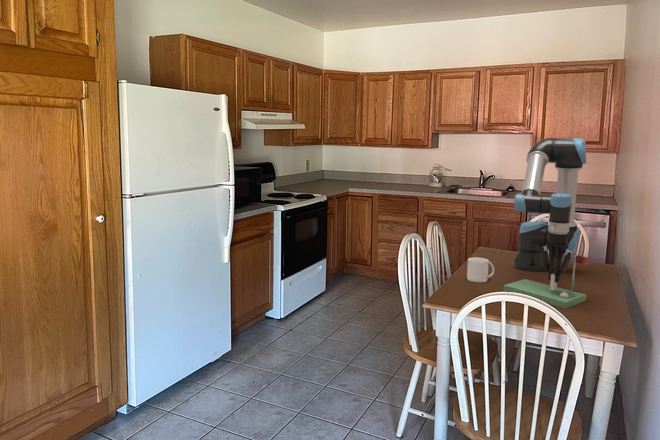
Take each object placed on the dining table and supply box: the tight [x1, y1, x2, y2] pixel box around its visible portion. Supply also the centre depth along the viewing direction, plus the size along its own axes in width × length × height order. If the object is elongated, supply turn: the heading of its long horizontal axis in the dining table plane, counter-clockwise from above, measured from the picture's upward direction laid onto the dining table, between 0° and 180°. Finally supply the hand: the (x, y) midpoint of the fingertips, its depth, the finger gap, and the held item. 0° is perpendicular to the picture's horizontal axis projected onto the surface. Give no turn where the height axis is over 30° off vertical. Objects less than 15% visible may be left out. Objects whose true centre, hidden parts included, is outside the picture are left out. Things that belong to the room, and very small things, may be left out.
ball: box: [559, 292, 569, 297], centre depth 199 cm, size 4×4×4 cm
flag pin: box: [570, 254, 590, 292], centre depth 200 cm, size 6×1×18 cm, turn 37°
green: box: [503, 278, 587, 309], centre depth 205 cm, size 27×16×2 cm, turn 37°
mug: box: [466, 257, 495, 283], centre depth 226 cm, size 12×9×9 cm
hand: (553, 289), depth 202 cm, fingers closed
